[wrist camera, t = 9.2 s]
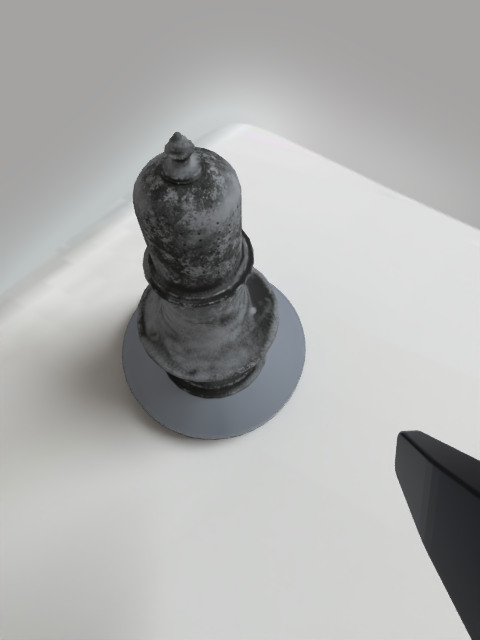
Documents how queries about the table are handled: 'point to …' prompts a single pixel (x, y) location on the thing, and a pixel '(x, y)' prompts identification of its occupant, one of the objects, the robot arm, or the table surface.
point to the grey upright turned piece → (200, 274)
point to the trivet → (228, 412)
